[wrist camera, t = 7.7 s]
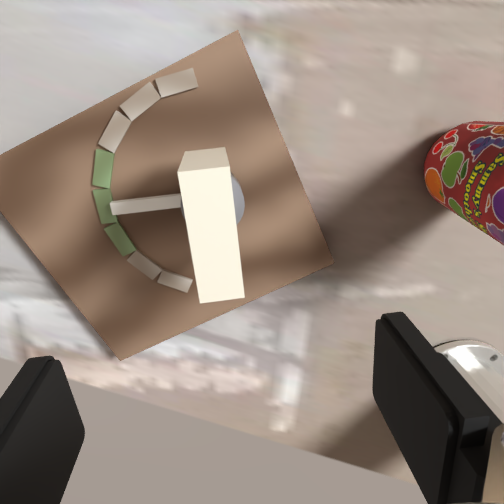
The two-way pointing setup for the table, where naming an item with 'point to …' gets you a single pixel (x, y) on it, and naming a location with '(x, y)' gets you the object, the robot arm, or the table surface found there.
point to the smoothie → (470, 174)
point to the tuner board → (156, 184)
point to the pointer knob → (205, 220)
